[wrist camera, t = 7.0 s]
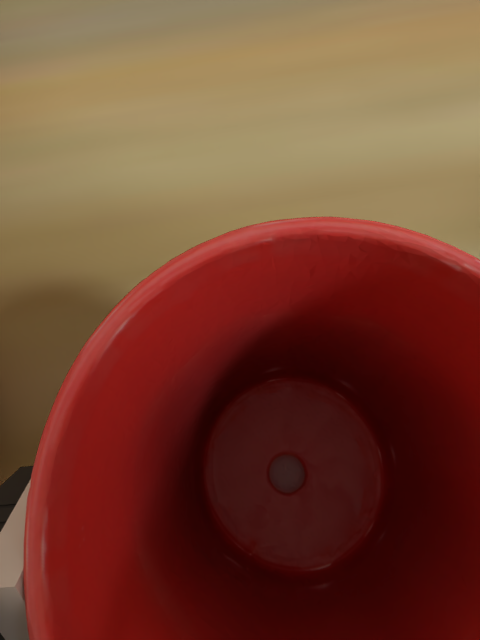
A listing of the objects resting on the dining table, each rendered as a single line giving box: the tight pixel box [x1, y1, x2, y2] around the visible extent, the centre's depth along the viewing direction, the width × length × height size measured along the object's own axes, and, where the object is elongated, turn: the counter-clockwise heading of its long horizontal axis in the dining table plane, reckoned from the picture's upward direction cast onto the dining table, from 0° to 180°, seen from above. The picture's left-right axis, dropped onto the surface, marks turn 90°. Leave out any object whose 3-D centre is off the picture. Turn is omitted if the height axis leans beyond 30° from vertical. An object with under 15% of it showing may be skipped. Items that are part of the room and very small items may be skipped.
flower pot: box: [23, 217, 480, 640], centre depth 10 cm, size 11×11×10 cm
